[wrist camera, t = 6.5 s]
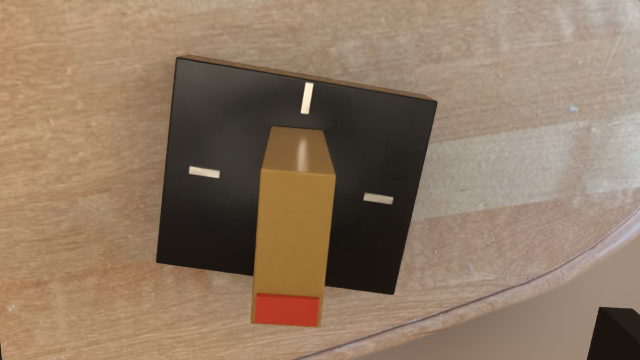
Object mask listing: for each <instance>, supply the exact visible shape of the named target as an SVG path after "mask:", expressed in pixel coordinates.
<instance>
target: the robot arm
mask: <svg viewBox="0 0 640 360" xmlns="http://www.w3.org/2000/svg"><path fill="white" fill-rule="evenodd" d="M0 360H2V356H1V345H0ZM587 360H640V315H639V314H638V313H637V312H636V311H635V310H633V309H629V308H628V309H627V308H609V307H599V311H598V315H597V319H596V323H595V328H594V332H593V337H592V340H591V345H590V349H589V353H588V357H587Z"/></svg>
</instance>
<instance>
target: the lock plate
mask: <svg viewBox="0 0 640 360" xmlns="http://www.w3.org/2000/svg"><path fill="white" fill-rule="evenodd" d="M436 108H437V101H436V100H433V99H431V98H429V97H427V96H425V95H421V94H415V93H409V92H404V91H398V90H392V89H386V88H380V87H374V86H368V85H363V84H357V83H351V82H345V81H339V80H333V79H328V78H322V77H316V76H310V75H304V74H298V73H292V72H287V71H281V70H275V69H269V68H263V67H257V66H251V65H246V64H240V63H234V62H228V61H222V60H216V59H211V58H205V57H199V56H193V55H185V56H180V57H177V58H176V63H175V74H174V84H173V94H172V104H171V114H170V124H169V134H168V144H167V154H166V164H165V174H164V185H163V195H162V205H161V215H160V225H159V235H158V245H157V255H156V263H161V264H168V265H176V266H183V267H190V268H198V269H205V270H212V271H220V272H227V273H234V274H242V275H249V276H254V263H255V248H256V232H257V217H258V202H259V187H260V171H261V167H262V163H263V159H264V155H265V151H266V147H267V142H268V138H269V134H270V130H271V127H272V126H278V127H290V128H302V129H313V130H322V131H323V133H324V136H325V140H326V143H327V147H328V150H329V154H330V157H331V161H332V164H333V168H334V171H335V175H336V181H335V191H334V200H333V210H332V219H331V229H330V239H329V248H328V258H327V267H326V277H325V286H330V287H337V288H345V289H352V290H360V291H367V292H374V293H382V294H389V295H393V294H394V292H395V287H396V283H397V279H398V274H399V270H400V266H401V261H402V257H403V252H404V248H405V244H406V239H407V235H408V230H409V226H410V222H411V217H412V213H413V209H414V204H415V200H416V195H417V191H418V187H419V182H420V178H421V174H422V169H423V165H424V160H425V156H426V152H427V147H428V143H429V138H430V134H431V130H432V125H433V121H434V117H435V112H436Z"/></svg>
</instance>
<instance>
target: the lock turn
mask: <svg viewBox="0 0 640 360" xmlns="http://www.w3.org/2000/svg"><path fill="white" fill-rule="evenodd" d="M335 181H336V175H335V171H334V168H333V164H332V161H331V157H330V154H329V150H328V147H327V143H326V140H325V136H324V133H323V131H322V130H313V129H302V128H290V127H278V126H272V127H271V130H270V134H269V138H268V142H267V147H266V151H265V155H264V159H263V163H262V167H261V171H260V187H259V202H258V217H257V232H256V248H255V263H254V278H253V293H252V308H251V323H252V324H268V325H285V326H302V327H320V325H321V315H322V306H323V296H324V286H325V277H326V267H327V258H328V248H329V239H330V229H331V219H332V210H333V200H334V191H335Z"/></svg>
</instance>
